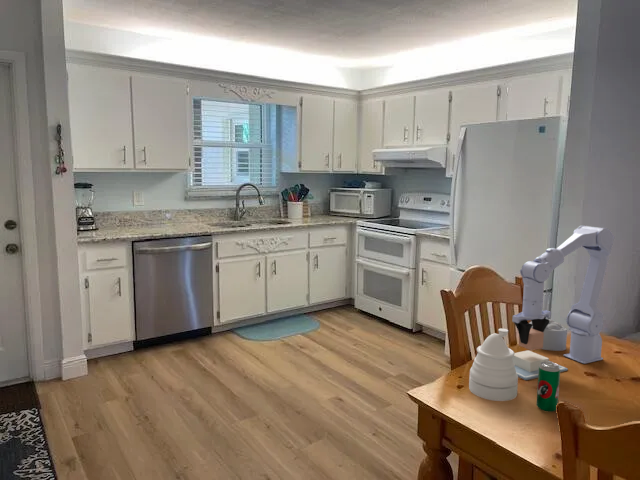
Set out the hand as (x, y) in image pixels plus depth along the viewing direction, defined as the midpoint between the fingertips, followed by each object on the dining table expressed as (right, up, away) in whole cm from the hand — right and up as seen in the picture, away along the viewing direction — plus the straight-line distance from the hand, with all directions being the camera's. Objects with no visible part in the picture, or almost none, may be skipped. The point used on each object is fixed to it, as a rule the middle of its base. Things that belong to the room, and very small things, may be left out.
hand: (530, 341), depth 154 cm
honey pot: (-17, -11, -16) cm, 26 cm away
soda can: (-7, -12, -26) cm, 30 cm away
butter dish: (0, -8, +1) cm, 8 cm away
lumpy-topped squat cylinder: (+15, -6, +21) cm, 27 cm away
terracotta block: (0, -2, 0) cm, 2 cm away
